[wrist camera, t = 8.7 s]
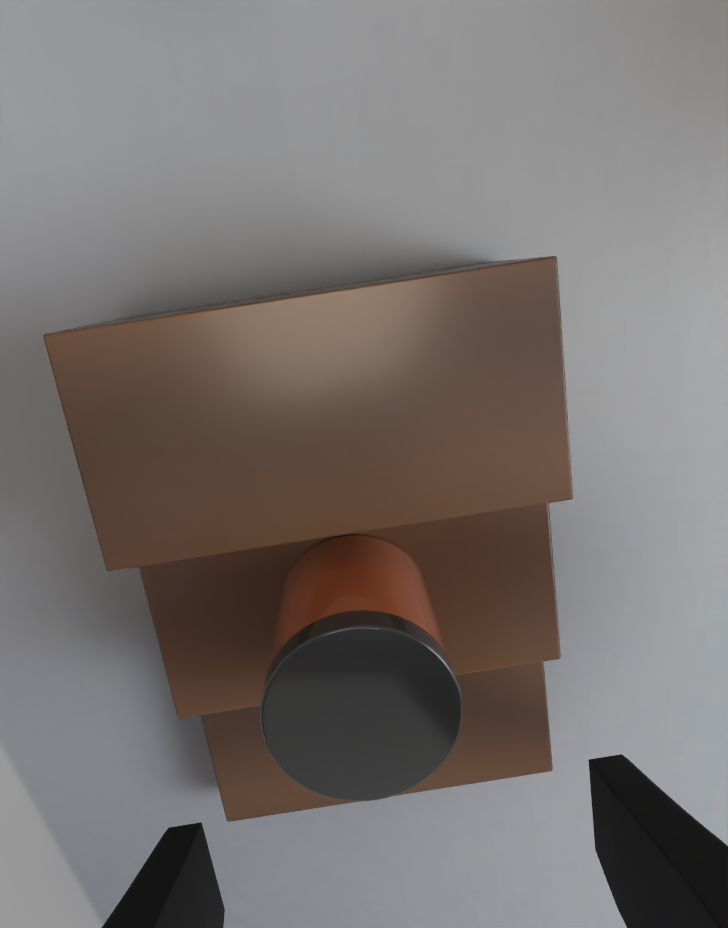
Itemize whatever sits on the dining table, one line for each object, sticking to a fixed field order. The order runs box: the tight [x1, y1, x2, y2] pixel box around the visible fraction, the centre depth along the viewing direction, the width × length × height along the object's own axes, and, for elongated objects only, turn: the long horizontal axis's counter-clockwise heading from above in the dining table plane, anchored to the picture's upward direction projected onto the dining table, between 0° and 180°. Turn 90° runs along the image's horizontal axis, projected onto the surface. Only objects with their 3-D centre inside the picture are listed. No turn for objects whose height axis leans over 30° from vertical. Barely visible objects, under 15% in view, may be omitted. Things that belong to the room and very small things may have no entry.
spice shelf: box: [43, 256, 573, 822], centre depth 19 cm, size 16×11×6 cm, turn 8°
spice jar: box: [260, 535, 463, 801], centre depth 16 cm, size 4×4×5 cm
